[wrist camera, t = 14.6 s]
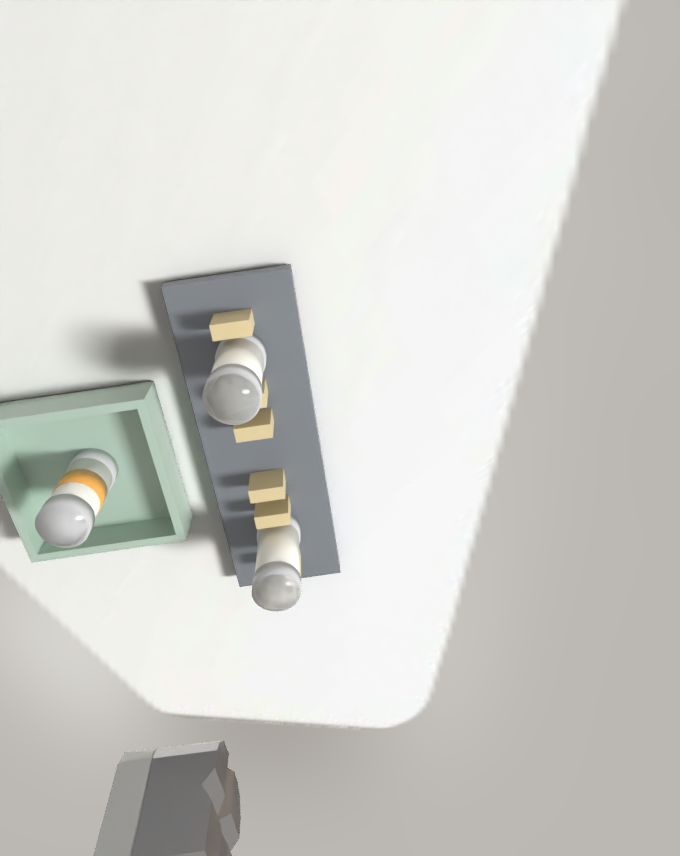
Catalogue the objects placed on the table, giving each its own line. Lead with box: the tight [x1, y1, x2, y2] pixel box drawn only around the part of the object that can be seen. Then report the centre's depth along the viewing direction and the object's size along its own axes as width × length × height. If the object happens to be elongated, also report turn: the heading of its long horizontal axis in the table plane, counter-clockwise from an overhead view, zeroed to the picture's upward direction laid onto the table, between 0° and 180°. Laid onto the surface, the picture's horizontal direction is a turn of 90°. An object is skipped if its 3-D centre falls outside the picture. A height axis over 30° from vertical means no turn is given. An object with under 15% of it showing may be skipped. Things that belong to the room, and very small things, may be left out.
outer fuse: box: [252, 514, 301, 611], centre depth 44 cm, size 3×3×7 cm
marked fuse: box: [35, 448, 118, 548], centre depth 41 cm, size 3×3×7 cm
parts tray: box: [0, 381, 193, 562], centre depth 43 cm, size 11×11×3 cm
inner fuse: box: [203, 334, 267, 425], centre depth 37 cm, size 3×3×7 cm
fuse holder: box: [161, 264, 340, 587], centre depth 43 cm, size 24×8×4 cm, turn 7°
